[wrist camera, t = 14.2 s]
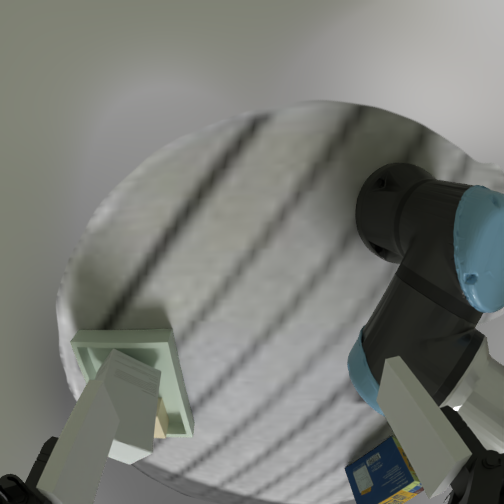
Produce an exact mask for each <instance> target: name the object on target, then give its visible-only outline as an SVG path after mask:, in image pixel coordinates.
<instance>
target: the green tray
mask: <svg viewBox="0 0 504 504" xmlns="http://www.w3.org/2000/svg"><path fill="white" fill-rule="evenodd" d="M70 343H71V345H72V348H73V351H74V354H75V356H76V359H77V361H78V364H79V367H80V369H81V372H82V374H83V376H84V379H85V381H86V384H87V383H88V381H89V380H95V377H96V374H97V371H98V369H99V368H100V366H101V365H102V364H103V362H104V361H105V359H106V358H107V357H108V355H109V354H110V352H111V351H112V350H113V349H116V350H118V351H120V352H122V353H124V354H126V355H128V356H130V357H132V358H134V359H136V360H138V361H140V362H142V363H144V364H146V365H149V366H151V367H153V368H155V369H157V370H160V371H161V379H160V386H159V394H158V398H162V399H163V402H164V405H165V408H166V411H167V414H168V417H169V424H168V429H167V434H166V437H193V433H194V419H193V415H192V412H191V408H190V404H189V400H188V396H187V392H186V388H185V384H184V380H183V376H182V372H181V367H180V363H179V358H178V354H177V349H176V345H175V340H174V335H173V330H172V329H145V330H79V331H78V332H77V334H76V335H75V336H74V337H73V339H72V340H71V341H70Z"/></svg>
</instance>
